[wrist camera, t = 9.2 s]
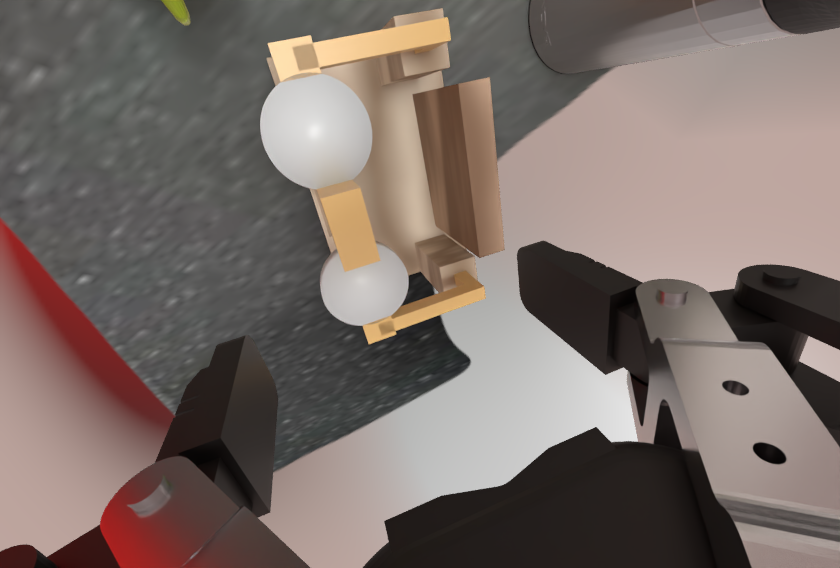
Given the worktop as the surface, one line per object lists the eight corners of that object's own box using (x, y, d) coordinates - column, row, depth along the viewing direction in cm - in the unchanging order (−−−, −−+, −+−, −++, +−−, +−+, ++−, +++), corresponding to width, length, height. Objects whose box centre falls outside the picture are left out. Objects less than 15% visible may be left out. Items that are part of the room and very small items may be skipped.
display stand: (428, 32, 28) (494, -11, 19) (461, 251, 37) (516, 294, 28) (267, 61, 26) (254, 28, 17) (343, 289, 34) (361, 348, 25)
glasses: (426, 24, 21) (470, -8, 16) (467, 284, 29) (505, 319, 24) (236, 61, 19) (216, 38, 14) (338, 329, 27) (349, 379, 22)
